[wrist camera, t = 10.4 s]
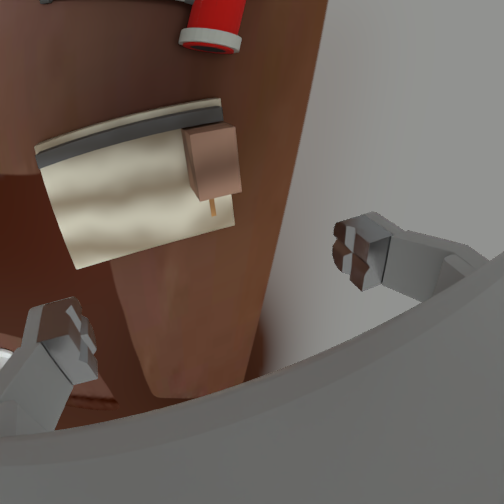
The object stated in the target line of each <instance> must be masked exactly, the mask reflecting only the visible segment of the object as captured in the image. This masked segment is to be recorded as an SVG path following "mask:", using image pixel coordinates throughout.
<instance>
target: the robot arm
mask: <svg viewBox="0 0 504 504" xmlns="http://www.w3.org/2000/svg"><path fill="white" fill-rule="evenodd" d="M333 235H334V236H335V237H336V239H337V240H336V242H335V243H334V245H333V248H332V256H333V259H334V263H335V265H336V266H337V268H338V269H339V270H340V271H341V272H342V273H346V274H349V275H350V281H351V282H352V283H353V284H354V285H355V286H357V287H358V288H359V289H360V290H361V291H365V290H367V289H370V288H372V287H375V286H378V285H380V284H382V285H383V286H386V287H388V288H390V289H393V290H395V291H397V292H399V293H402V294H404V295H406V296H409V297H411V298H413V299H416V300H418V301H420V302H422V303H420V304H418V305H417V306H415V307H413V308H411V309H409V310H407V311H406V312H404V313H402V314H400V315H398V316H396V317H394V318H392V319H390V320H388V321H387V322H384V323H383V324H381V325H379V326H377V327H375V328H373V329H370V330H368V331H367V332H364V333H362V334H360V335H358V336H356V337H354V338H352V339H350V340H347V341H345V342H343V343H341V344H339V345H337V346H334V347H332V348H330V349H328V350H325V351H323V352H321V353H318V354H316V355H314V356H312V357H309V358H307V359H305V360H302V361H300V362H297V363H295V364H292V365H290V366H287V367H285V368H282V369H280V370H277V371H274V372H272V373H269V374H267V375H264V376H261V377H259V378H256V379H253V380H250V381H247V382H245V383H242V384H239V385H236V386H233V387H230V388H227V389H224V390H221V391H218V392H215V393H212V394H209V395H206V396H203V397H199V398H196V399H193V400H189V401H186V402H183V403H179V404H176V405H172V406H168V407H165V408H162V409H158V410H154V411H150V412H146V413H142V414H138V415H134V416H129V417H125V418H121V419H116V420H112V421H107V422H102V423H98V424H92V425H87V426H82V427H75V428H69V429H63V430H57V431H54V429H55V427H56V425H57V422H58V420H59V417H60V415H61V413H62V411H63V408H64V406H65V404H66V402H67V399H68V397H69V395H70V393H71V391H72V388H73V386H72V385H76V384H80V383H84V382H87V381H91V380H95V379H98V371H97V360H96V358H95V357H94V355H93V354H94V352H95V351H96V348H97V347H96V339H95V335H94V331H93V328H92V326H91V324H90V322H89V320H88V319H87V318H86V317H84V316H82V307H81V305H80V303H79V301H78V299H77V298H76V297H70V298H66V299H63V300H59V301H55V302H51V303H47V304H45V305H40V306H37V307H34V308H31V309H30V310H29V313H28V317H27V322H26V326H25V330H24V335H23V340H22V345H21V347H20V348H17V349H16V350H15V351H14V353H13V354H12V355H11V357H10V358H9V359H8V361H7V362H6V363H5V364H4V366H3V367H2V368H1V370H0V504H504V252H502V253H501V254H499V255H498V256H497V257H495V258H493V259H492V260H490V261H489V260H488V259H486V258H485V257H483V256H482V255H481V254H479V253H478V252H477V251H475V250H474V249H472V248H471V247H469V246H468V245H465V244H461V243H457V242H453V241H449V240H446V239H441V238H438V237H434V236H429V235H426V234H421V233H417V232H413V231H409V230H408V231H404V230H403V229H401V228H400V227H398V226H396V225H395V224H394V223H392V222H390V221H389V220H387V219H386V218H384V217H383V216H381V215H380V214H378V213H377V212H369V213H366V214H363V215H360V216H357V217H354V218H350V219H347V220H343V221H340V222H337V223H336V224H335V226H334V234H333Z"/></svg>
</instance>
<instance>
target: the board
mask: <svg viewBox="0 0 504 504" xmlns="http://www.w3.org/2000/svg"><path fill="white" fill-rule="evenodd" d="M218 121H224V120H223V111H222V107H221V98H209V99H203V100H197V101H191V102H185V103H180V104H175V105H170V106H165V107H160V108H156V109H151V110H147V111H142V112H138V113H134V114H130V115H126V116H122V117H118V118H115V119H111V120H107V121H104V122H100V123H97V124H94V125H90V126H87V127H84V128H81V129H77V130H74V131H71V132H68V133H65V134H62V135H59V136H57V137H54V138H51V139H48V140H46V141H43V142H40V143H38V144H37V145H36V146H34V148H35V152H36V155H35V157H36V161H37V164H38V168H39V169H40V170H41V174H42V177H43V180H44V183H45V187H46V190H47V193H48V196H49V199H50V202H51V205H52V208H53V211H54V214H55V216H56V219H57V222H58V225H59V228H60V230H61V233H62V235H63V238H64V241H65V243H66V245H67V248H68V250H69V253H70V255H71V258H72V260H73V263H74V265H75V267H76V269H80V268H83V267H87V266H91V265H94V264H97V263H100V262H104V261H107V260H111V259H114V258H118V257H121V256H124V255H128V254H131V253H135V252H138V251H142V250H145V249H149V248H152V247H156V246H159V245H163V244H167V243H170V242H174V241H177V240H181V239H185V238H188V237H192V236H196V235H199V234H203V233H207V232H210V231H214V230H218V229H222V228H225V227H229V226H233V225H235V222H234V213H233V205H232V197H231V194H230V195H226V196H222V197H218V198H214V199H209V200H205V201H201V202H200V201H199V199H198V198H197V196H196V195H195V193H194V191H193V190H192V188H191V187H190V182H189V176H188V170H187V164H186V158H185V152H184V145H183V139H182V132H181V128H186V127H191V126H196V125H202V124H207V123H213V122H218Z"/></svg>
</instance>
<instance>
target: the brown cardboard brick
mask: <svg viewBox="0 0 504 504" xmlns="http://www.w3.org/2000/svg"><path fill="white" fill-rule="evenodd" d="M181 132H182V139H183V145H184V152H185V158H186V164H187V170H188V176H189V182H190V187H191V188H192V190H193V191H194V193H195V195H196V196H197V198H198V199H199V201H200V202H201V201H205V200H209V199H214V198H218V197H222V196H226V195H230V194H235V193H239V192H242V189H241V179H240V169H239V159H238V149H237V139H236V129H235V126H233V125H230V124H228V123H226V122H223V121H218V122H213V123H207V124H202V125H196V126H191V127H186V128H181Z"/></svg>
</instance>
